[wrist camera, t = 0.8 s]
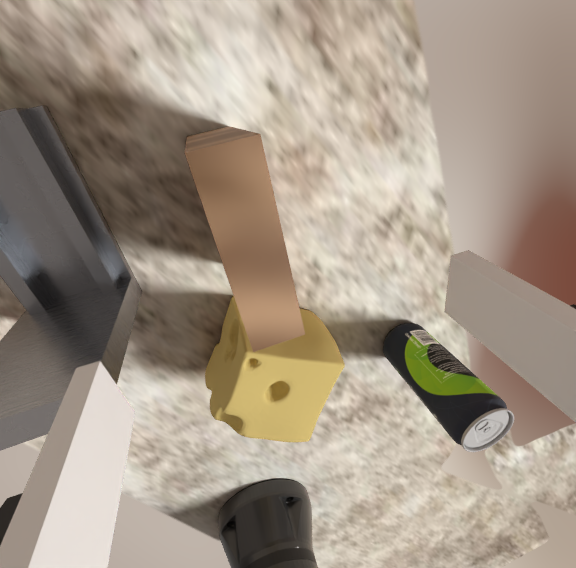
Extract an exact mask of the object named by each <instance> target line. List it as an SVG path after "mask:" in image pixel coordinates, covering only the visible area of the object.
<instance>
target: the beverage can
mask: <svg viewBox="0 0 576 568" xmlns="http://www.w3.org/2000/svg"><path fill="white" fill-rule="evenodd" d="M383 352H384V355H385V357H386V358H387V359H388V360H389V362H390V363H391V364H392V365H393V366H394V368H395V369H396V370H397V371H398V373H399V374H400V375H401V376H402V378H403V379H404V380H405V381H406V382H407V384H408V385H409V386H410V387H411V389H412V390H413V391H414V392H415V393H416V395H417V396H418V397H419V398H420V400H421V401H422V402H423V403H424V404H425V406H426V407H427V408H428V409H429V411H430V412H431V413H432V414H433V415H434V417H435V418H436V419H437V420H438V422H439V423H440V424H441V425H442V426H443V428H444V429H445V430H446V431H447V433H448V434H449V435H450V436H451V437H452V439H453V440H454V441H455V442H456V443H458V444H460V445H462V447H463V448H464V449H465V450H466V451H469V452H477V451H481V450H484V449H487V448H489V447H490V446H492V445H494V444H495V443H497V442H498V441H499V440H501V439H502V438H503V437H504V436H505V435H506V434H507V433H508V431H509V430H510V428H511V427H512V425H513V422H514V415H513V413H512V412H511V411H510V410H508V409H507V407H506V404H505V402H504V401H503V400H502V399H501V398H500V397H498V396H497V395H496V394H495V393H494V392H493V391H492V390H491V389H490V388H489V387H487V386H486V385H485V384H484V383H483V382H482V381H481V380H480V379H479V378H478V377H476V376H475V375H474V374H473V373H472V372H471V371H470V370H469V369H468V368H466V367H465V366H464V365H463V364H462V363H461V362H460V361H459V360H458V359H457V358H455V357H454V356H453V355H452V354H451V353H450V352H449V351H448V350H447V349H445V348H444V347H443V346H442V345H441V344H440V343H439V342H438V341H437V340H436V339H434V338H433V337H432V336H431V335H430V334H429V333H428V332H427V331H426V330H424V329H423V328H422V327H421V326H420V325H418V324H413V323H410V324H402V325H399V326H397V327H395V328H394V329H393V330H391V331H390V332H389V334H388V335H387V336H386V338H385V341H384V347H383Z"/></svg>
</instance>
